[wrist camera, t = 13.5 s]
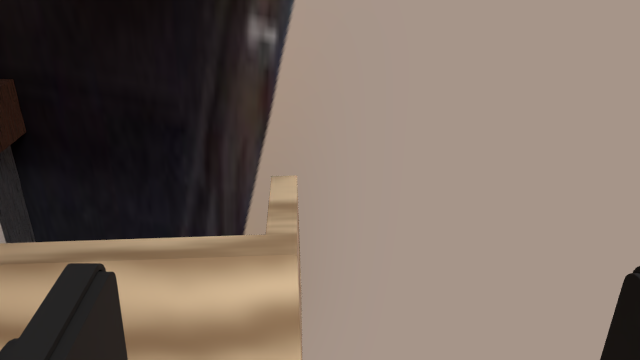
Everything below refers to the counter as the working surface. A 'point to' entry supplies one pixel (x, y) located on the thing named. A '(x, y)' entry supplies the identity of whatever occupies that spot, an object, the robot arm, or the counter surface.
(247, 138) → the counter surface
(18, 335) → the oak shelf
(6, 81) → the orange-brown mallet
